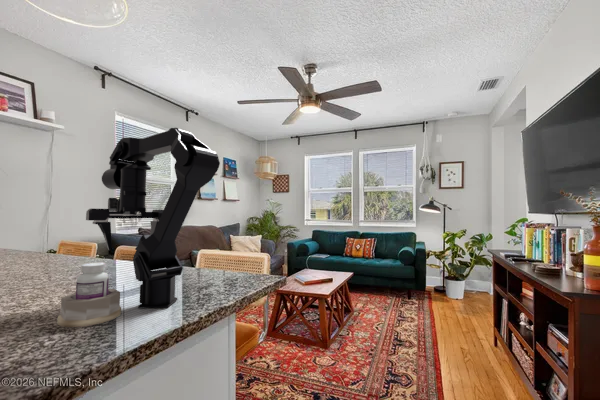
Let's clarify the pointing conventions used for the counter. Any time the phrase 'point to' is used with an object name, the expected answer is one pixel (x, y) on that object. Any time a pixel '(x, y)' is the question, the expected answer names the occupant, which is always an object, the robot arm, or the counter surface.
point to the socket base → (89, 310)
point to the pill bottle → (92, 281)
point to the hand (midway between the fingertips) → (130, 248)
